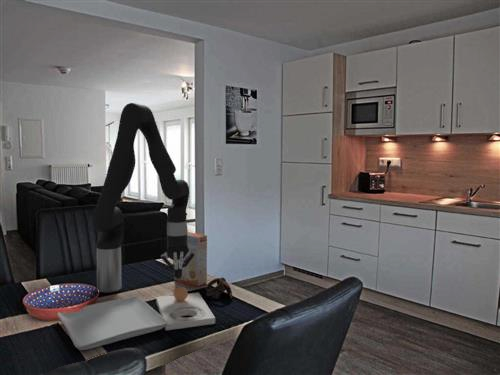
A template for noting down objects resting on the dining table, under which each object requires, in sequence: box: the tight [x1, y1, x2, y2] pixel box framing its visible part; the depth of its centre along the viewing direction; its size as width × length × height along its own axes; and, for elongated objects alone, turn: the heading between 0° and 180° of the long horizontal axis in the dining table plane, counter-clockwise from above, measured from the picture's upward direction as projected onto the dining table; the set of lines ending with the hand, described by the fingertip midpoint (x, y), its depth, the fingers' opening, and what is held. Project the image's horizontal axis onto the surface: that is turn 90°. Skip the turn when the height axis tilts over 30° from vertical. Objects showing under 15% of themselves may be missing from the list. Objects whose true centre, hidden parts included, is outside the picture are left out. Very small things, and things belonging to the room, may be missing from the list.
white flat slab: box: [155, 292, 216, 331], centre depth 139 cm, size 16×24×2 cm, turn 20°
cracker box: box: [173, 231, 208, 287], centre depth 170 cm, size 14×6×21 cm, turn 54°
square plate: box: [56, 295, 168, 351], centre depth 127 cm, size 27×27×4 cm
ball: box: [173, 286, 189, 301], centre depth 144 cm, size 5×5×5 cm
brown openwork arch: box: [205, 277, 233, 300], centre depth 155 cm, size 12×10×8 cm
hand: (177, 278), depth 151 cm, fingers closed
